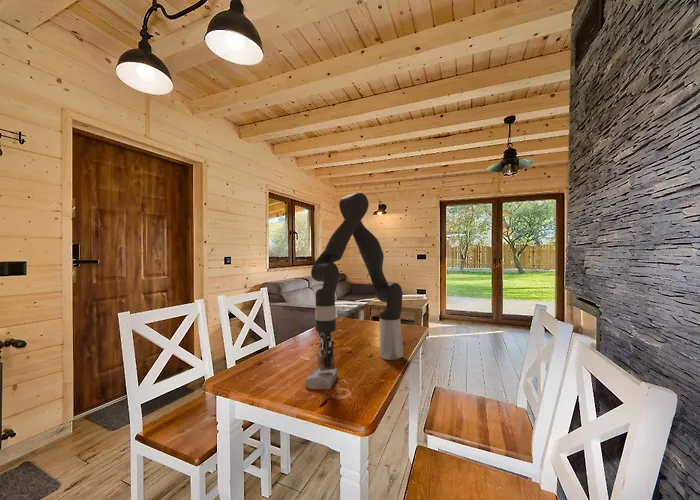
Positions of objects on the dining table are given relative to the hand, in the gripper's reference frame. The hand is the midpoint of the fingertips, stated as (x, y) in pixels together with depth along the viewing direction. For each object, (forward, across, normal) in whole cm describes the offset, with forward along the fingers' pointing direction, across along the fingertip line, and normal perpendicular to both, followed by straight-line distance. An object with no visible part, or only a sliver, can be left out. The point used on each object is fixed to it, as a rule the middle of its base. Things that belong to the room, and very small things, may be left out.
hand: (326, 364), depth 104 cm
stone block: (+7, +1, +2) cm, 7 cm away
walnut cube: (+1, 0, 0) cm, 1 cm away
